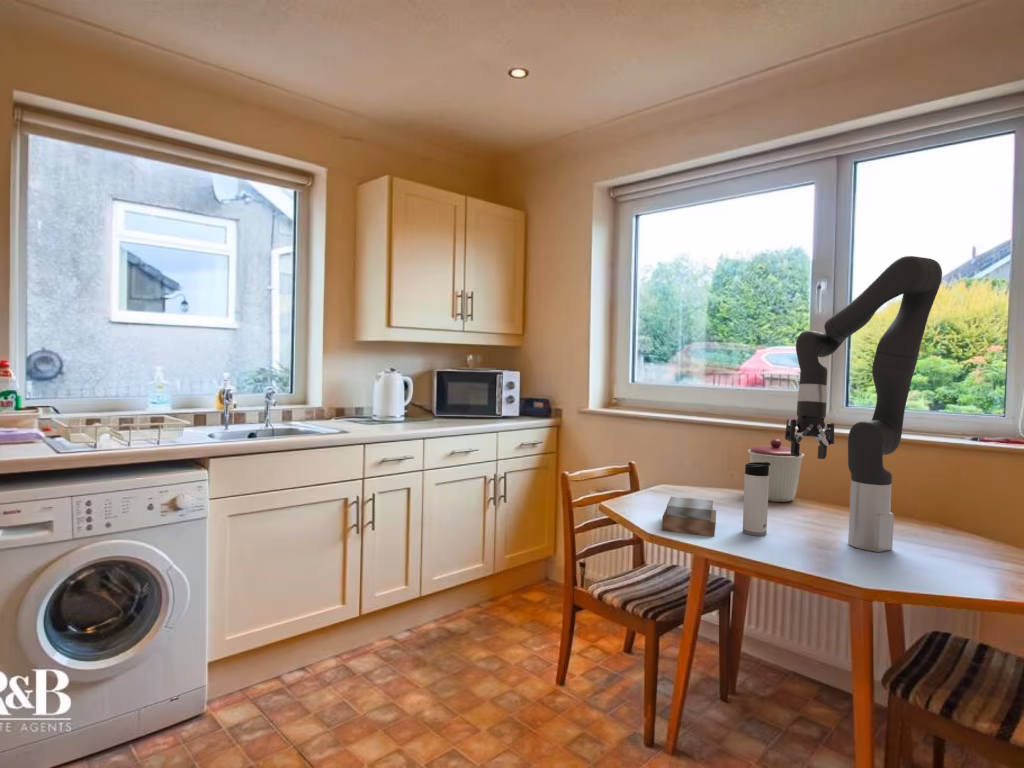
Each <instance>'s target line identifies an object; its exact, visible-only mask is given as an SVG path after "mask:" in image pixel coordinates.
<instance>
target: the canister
mask: <svg viewBox="0 0 1024 768" xmlns="http://www.w3.org/2000/svg"><path fill="white" fill-rule="evenodd" d="M769 444H770V445H756V446H752V447H751V448H750V449H747V453H749V461H750V462H749V463H754V462H764V463H765V462H769V463H770V465H769V472H768V473H769V477H768V478H769V484H768V502H775V503H787V502H791V501H793V500H794V498H795V497H796V495H797V489H798V486H799V485H798V484H799V480H800V479H799V478H800V473H801V467H802V460H803V458H804V457H805V454H804V453H803V452H801V451H800V450H799V457H795V456H792V454H791V447H788V446H782V441H781V440H780V439H778V438H773V439H771V440H770V443H769Z"/></svg>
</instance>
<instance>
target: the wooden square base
mask: <svg viewBox="0 0 1024 768" xmlns="http://www.w3.org/2000/svg"><path fill="white" fill-rule="evenodd" d="M713 505H714V500H712V499H711V500H710V499H702V498H690V497H689V498H688V497H680V496H670V498H669V500H668V502H667V504H666V508H665V510H664V512H663V514H662V521H661V523H662V524H661V527H662V528H661V531H662V532H663V531H664V532H670V533H678V534H690V535H698V536H707V537H715V534H716V533H715V532H716V524H717V509H714V508H713V507H714V506H713Z"/></svg>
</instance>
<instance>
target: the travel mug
mask: <svg viewBox="0 0 1024 768" xmlns="http://www.w3.org/2000/svg"><path fill="white" fill-rule="evenodd" d="M769 465H770V463H769V462H765V463H764V462H754V463H750V462H748V463H745V467H744V469H745V471H744V486H743V487H744V488H743V513H742V515H743V516H742V533H744V534H746V535H749V536H755V537H763V536H766V535H767V530H768V529H767V528H768V506H769V504H768V503H769V501H768V484H769V478H768V477H769V473H768V472H769Z"/></svg>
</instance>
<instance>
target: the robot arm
mask: <svg viewBox="0 0 1024 768" xmlns="http://www.w3.org/2000/svg"><path fill="white" fill-rule="evenodd" d="M942 278H943V269H942V267H941V264H940V263H939V262H938V261H936V259H932V258H928V257H922V256H915V255H907V256H906V255H905V256H901V257H900V258H898V259H896V260H894V261H893V262H892V263H891V264H890V265H888V267H886V268H885V270H884V271H883V272H882V273H881V274H880V275H878V276H877V278H875V280H874V281H873V282H872V283H870V284H869V286H868V287H867V288H866V289H864V290H863V291H862V292H861V293H860V294H859V295H858V296H857V297H856V298H855V299H854V300H852V301H851V302H850V303H848V304H847V305H846V306H844V307H843V308H842V309H840V310H839V311H837V312H835V314H834V315H832V316H830V317H829V318H828V319H827V320H826V322H825V323H824V328H823V329H824V331H823V332H821V331H816V330H815V331H814V330H804V331H802V332H801V333H800V334H799V335H798V337H797V338H796V343H795V351H796V357H797V361H798V366H799V367H798V368H799V369H800V370H799V371H800V372H799V373H800V374H799V384H798V385H799V386H798V391H797V400H796V401H797V403H796V416H797V419H794V418H792V419H791V418H789V419H787V420H786V424H785V425H786V426H785V435H784V439H785V440H786V441H789V442H790V448H791V454H792V456H795V457H799V451H800V449H801V448H800V446H801V444H800V442H801V441H802V440H803V439H804V438H805V437H813V438H814V440H816V442H817V443H818V446H817V459H819V460H825V459H826V457H827V456H828V455H827V452H828V451H827V450H828V446H830V445H834V444H835V424H834V423H832V422H826V423H825V419H826V417H827V407H828V406H827V404H828V402H827V401H828V386H827V385H828V368H827V367H826V366H825V365H823V364H822V363H821V362H820V361H819V358H826V357H828V356H830V355H833V354H834V353H836V351H837V350H838V349H839V347H840V346H841V345H843V343H844V341H845V340H846V339H848V338H849V337H850V336H852V335H853V334H855V333H857V332H858V331H860V330H861V329H862V328H863V327H864V326H866V325H867V324H868V323H869V322H870V321H871V319H872V318H873V317H874V316H875V313H876V312H877V311H878V310H879V309H880V308H881V307H882V306H883V305H884V304H886V303H887V302H889V301H891V300H893V299H894V298H897V297H899V296H901V295H902V298H901V301H900V302H901V303H900V306H899V309H898V312H897V315H896V316H895V318H894V320H893V321H892V322H891V323H890V324H889V326H888V328H887V329H886V331H885V332H884V333H883V335H882V336H881V338H880V340H879V342H878V343H877V347H876V349H875V353H874V358H873V361H872V369H871V371H872V372H871V373H872V379H873V383H874V388H875V389H874V390H875V393H876V402H875V408H874V413H873V415H872V418H871V419H870V420H862V421H859V422H856V423H854V424H853V425H852V426H851V428H850V430H849V433H848V438H847V464H848V465H847V467H848V470H849V472H850V489H849V490H850V493H849V511H848V513H849V514H848V516H849V517H848V538H847V543H848V545H850V546H851V547H854V548H857V549H861V550H865V551H869V552H870V551H871V552H874V553H875V552H876V553H882V552H886V551H891V550H893V545H894V544H893V539H894V523H895V513H893V512H892V511H891V507H892V506H891V503H892V502H891V501H892V486H893V485H892V484H893V474H892V473H891V471H889V470H887V469H886V468H885V467H884V460H883V459H884V456H887V455H890V454H893V453H894V452H895V451H896V450H897V449H898V448H899V446H900V443H901V439H902V434H903V426H904V425H903V424H904V419H905V410H906V405H907V401H908V397H909V393H910V389H911V385H912V380H913V376H914V374H915V369H916V367H917V366H916V365H917V362H918V359H919V354H920V348H921V345H922V341H923V337H924V334H925V330H926V328H927V327H926V326H927V322H928V319H929V315H930V312H931V310H932V307H933V305H934V302H935V301H936V300H935V299H936V297H937V295H938V292H939V289H940V287H941V283H942ZM796 428H797V429H796Z"/></svg>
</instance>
